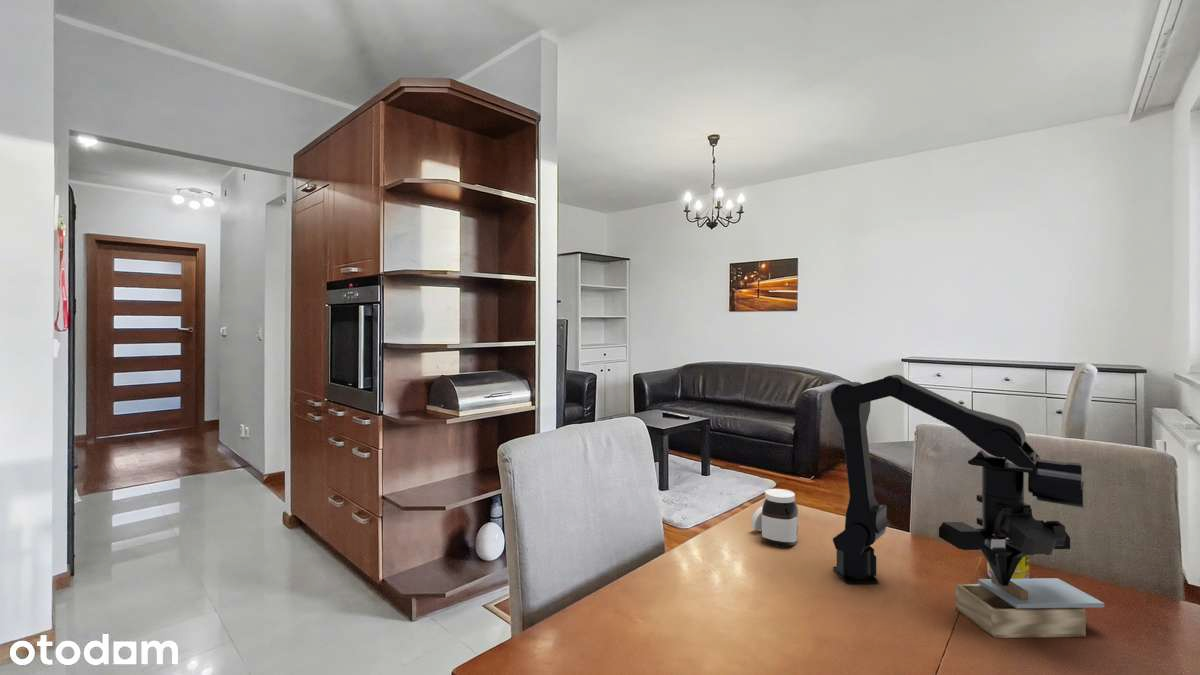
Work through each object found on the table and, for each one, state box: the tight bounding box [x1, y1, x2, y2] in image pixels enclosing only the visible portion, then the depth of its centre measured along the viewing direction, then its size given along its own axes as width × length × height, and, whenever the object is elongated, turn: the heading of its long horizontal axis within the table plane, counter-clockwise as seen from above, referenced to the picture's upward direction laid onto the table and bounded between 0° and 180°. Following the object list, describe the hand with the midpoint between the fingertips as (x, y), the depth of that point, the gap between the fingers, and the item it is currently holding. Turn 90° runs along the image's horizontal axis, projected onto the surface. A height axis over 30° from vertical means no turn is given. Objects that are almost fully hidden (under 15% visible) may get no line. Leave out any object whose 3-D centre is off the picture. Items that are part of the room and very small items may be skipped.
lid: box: [977, 574, 1105, 609], centre depth 89 cm, size 14×9×2 cm, turn 90°
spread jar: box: [750, 488, 799, 547], centre depth 126 cm, size 12×11×12 cm
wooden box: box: [955, 583, 1087, 639], centre depth 89 cm, size 15×9×4 cm, turn 90°
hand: (1002, 584), depth 89 cm, fingers closed
